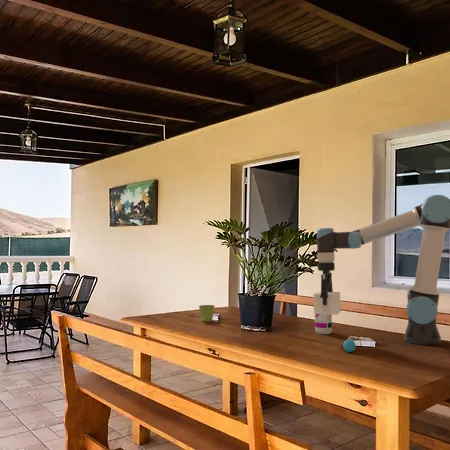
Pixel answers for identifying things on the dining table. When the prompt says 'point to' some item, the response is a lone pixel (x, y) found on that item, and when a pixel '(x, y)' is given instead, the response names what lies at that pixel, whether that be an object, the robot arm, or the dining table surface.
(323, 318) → the supplement can
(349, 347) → the ball
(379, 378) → the dining table surface
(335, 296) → the off-white square block
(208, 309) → the plant pot
